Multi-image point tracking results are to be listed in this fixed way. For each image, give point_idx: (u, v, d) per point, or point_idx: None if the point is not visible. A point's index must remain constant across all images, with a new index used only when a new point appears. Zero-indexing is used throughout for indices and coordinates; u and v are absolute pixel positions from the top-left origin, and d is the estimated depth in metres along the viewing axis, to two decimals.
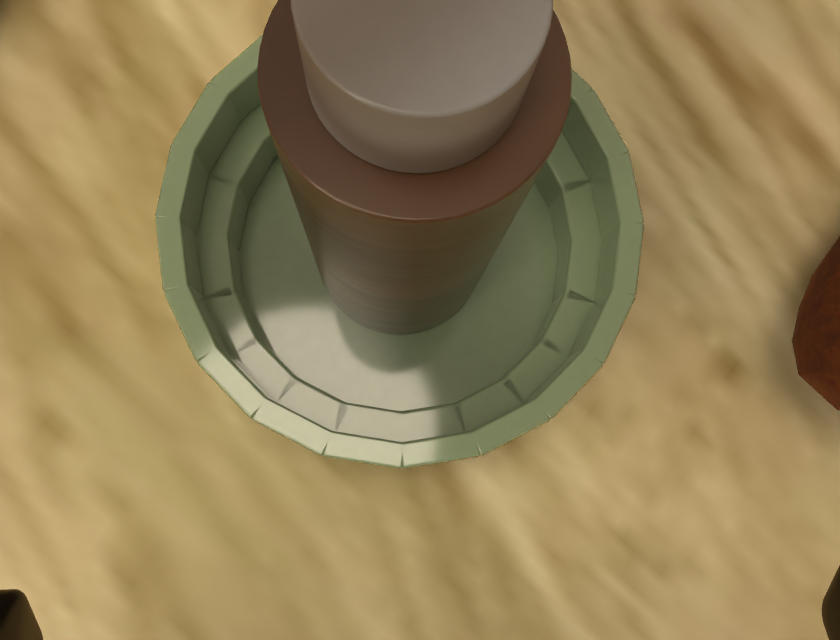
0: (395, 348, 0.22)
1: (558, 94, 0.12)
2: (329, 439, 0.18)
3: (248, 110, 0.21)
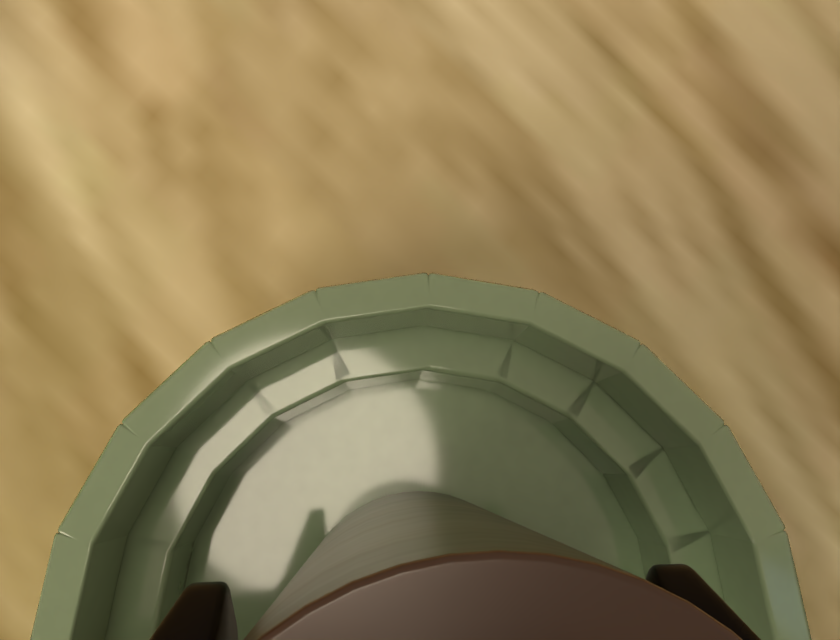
0: None
1: None
2: None
3: (188, 433, 0.14)
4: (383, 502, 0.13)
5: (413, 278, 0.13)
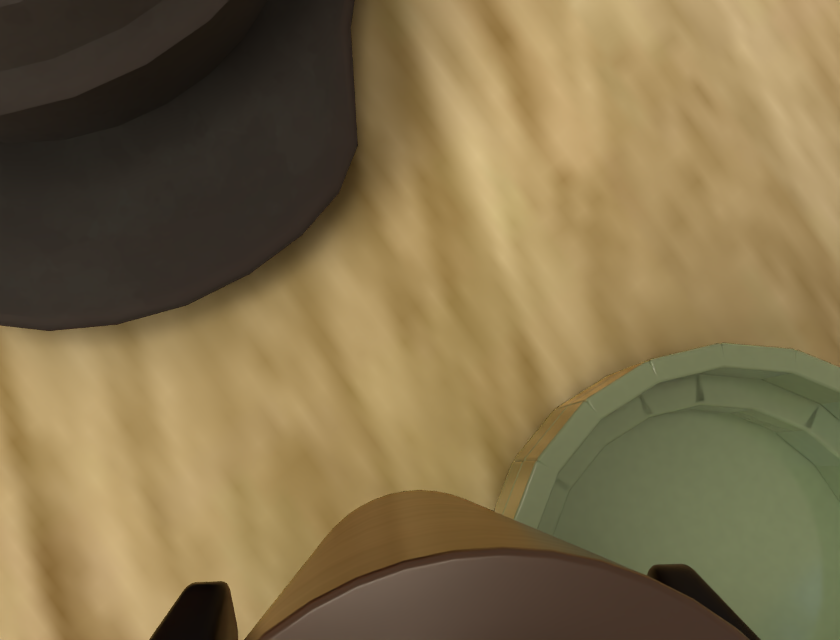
0: None
1: None
2: None
3: None
4: (384, 501, 0.13)
5: (786, 351, 0.19)
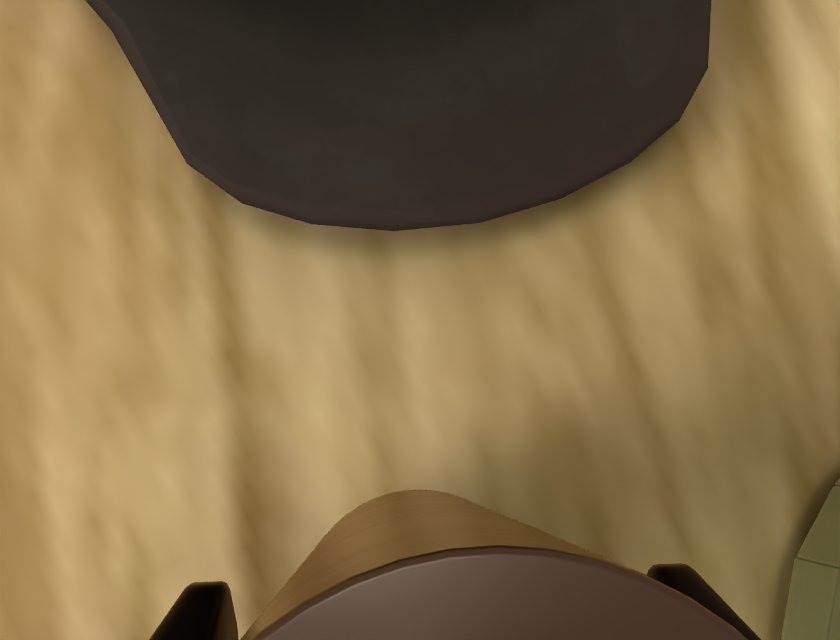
0: None
1: None
2: None
3: None
4: (383, 500, 0.13)
5: None
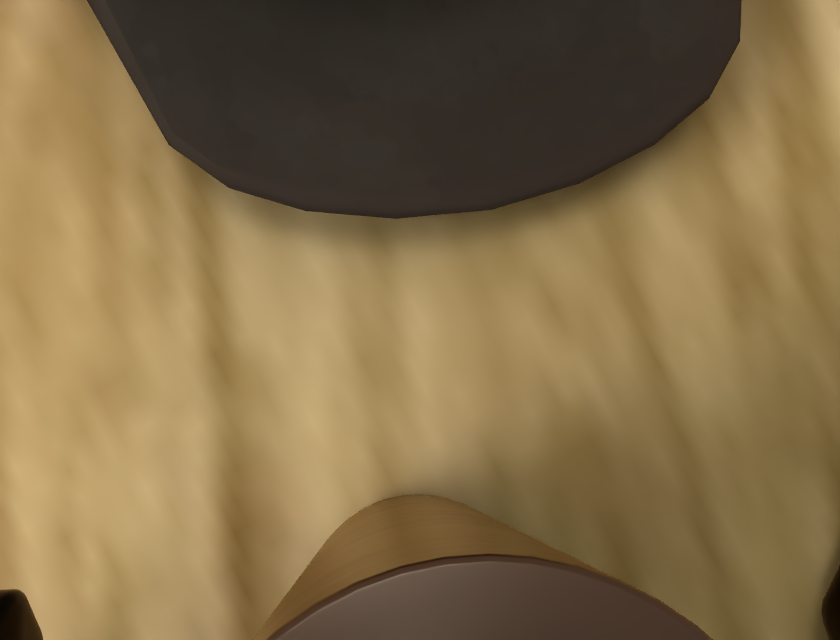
0: None
1: None
2: None
3: None
4: (384, 506, 0.14)
5: None
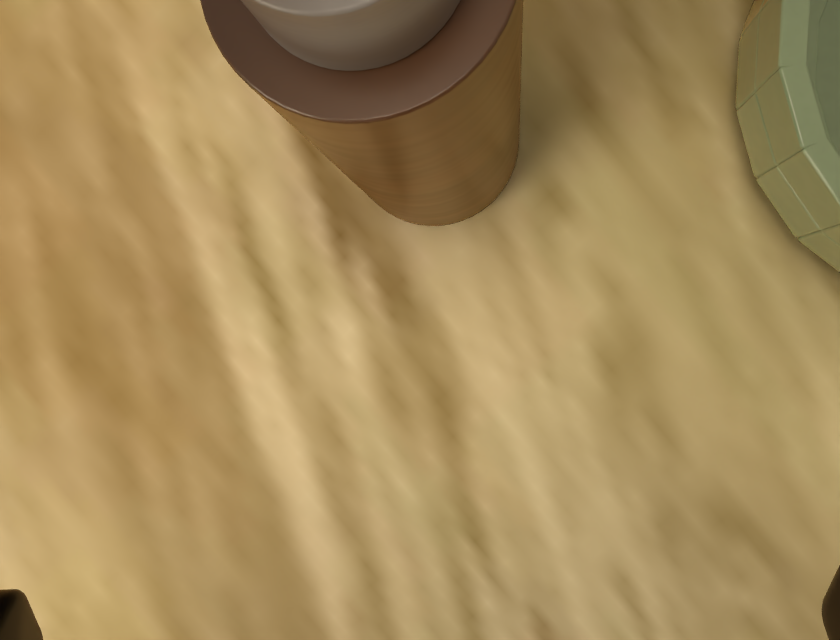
0: None
1: None
2: None
3: None
4: None
5: None
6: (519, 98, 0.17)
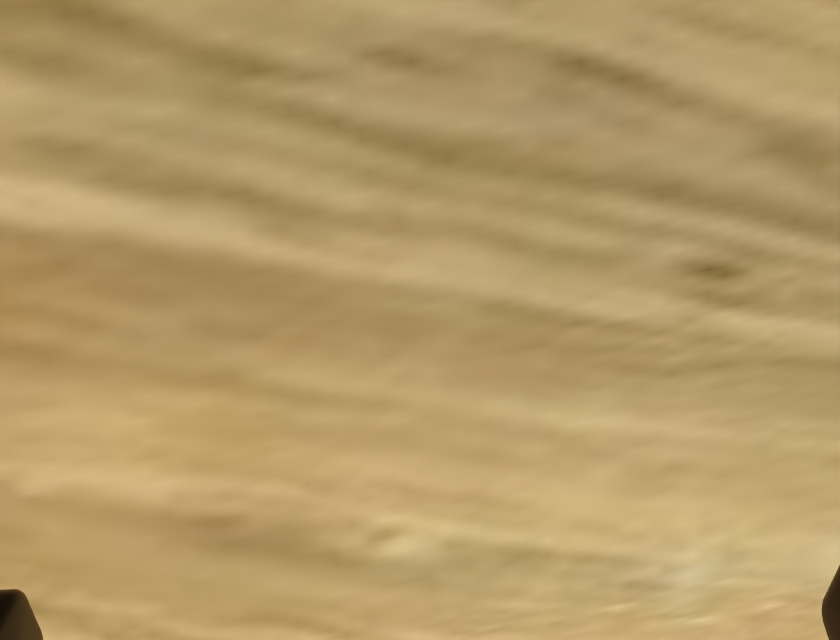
0: None
1: None
2: None
3: None
4: None
5: None
6: None
